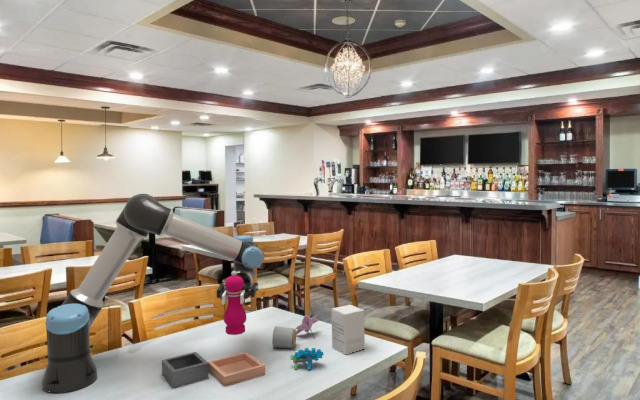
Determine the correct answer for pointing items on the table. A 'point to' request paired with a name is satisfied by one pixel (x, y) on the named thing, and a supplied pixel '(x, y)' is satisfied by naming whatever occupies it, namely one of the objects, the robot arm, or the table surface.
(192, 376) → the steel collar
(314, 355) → the blue bumpy piece
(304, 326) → the lily
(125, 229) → the robot arm
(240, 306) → the pepper mill
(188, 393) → the table surface
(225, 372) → the terracotta tray
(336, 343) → the supplement box
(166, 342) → the table surface
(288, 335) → the ceramic mug
